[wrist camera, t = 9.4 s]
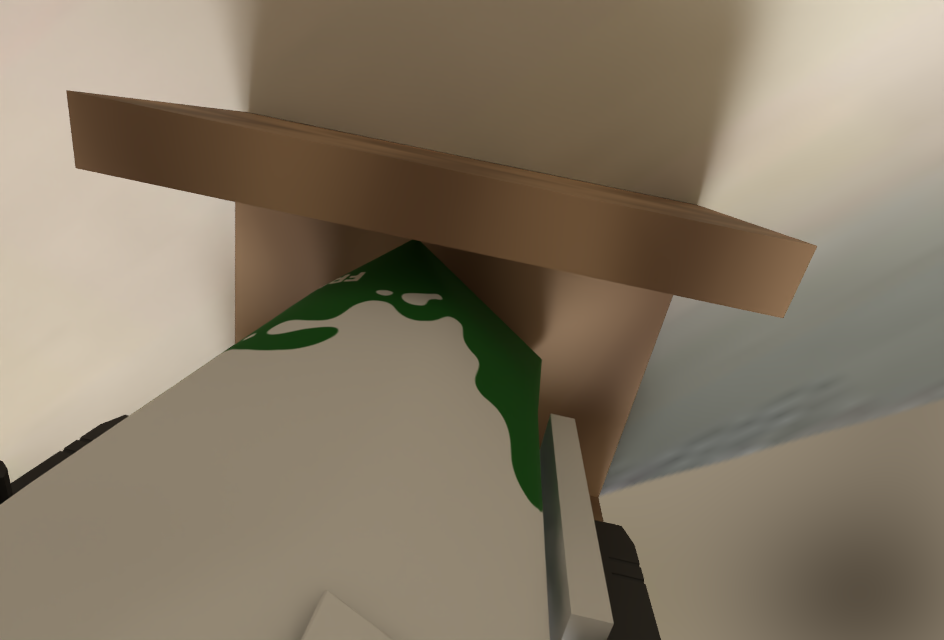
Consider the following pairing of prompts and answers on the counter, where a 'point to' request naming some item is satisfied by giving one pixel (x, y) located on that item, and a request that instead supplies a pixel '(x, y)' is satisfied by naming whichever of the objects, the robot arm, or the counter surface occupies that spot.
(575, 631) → the robot arm
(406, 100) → the counter surface
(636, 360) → the u rest
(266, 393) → the soya milk
